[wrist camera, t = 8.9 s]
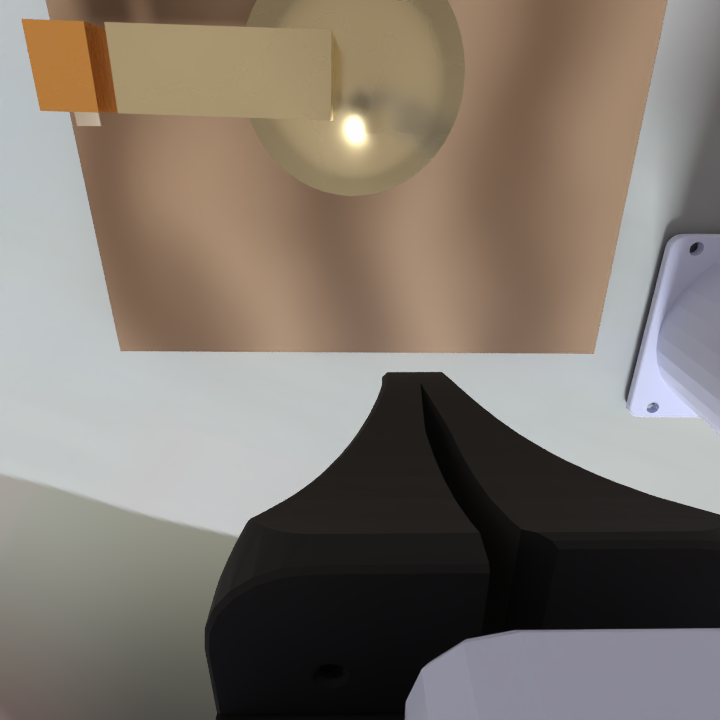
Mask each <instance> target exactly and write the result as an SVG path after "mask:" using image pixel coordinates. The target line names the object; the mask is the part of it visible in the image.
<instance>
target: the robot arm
mask: <svg viewBox="0 0 720 720" xmlns="http://www.w3.org/2000/svg"><path fill="white" fill-rule="evenodd" d="M696 242H697V243H698V247H697V249H696V250H695V251H694V252H693V253H690V247H691V245H693V244H694V243H696ZM654 402H655V404H654V405H653V406H652V407H651V408H647V406H648V405H649V404H651V403H654ZM626 408H627V409H628V411H629V412H630V413H631V414H632V415H633V416H636V417H700V418H701V419H702V420H704V421H705V422H706V423H707V424H708V425H709V426H710V427H711V428H712V429H713V430H714V431H716V432H717V433H718V434H719V435H720V234H678V235H675V236H674V237H672V238H671V239H670V240H669V241H668V242H667V245H666V247H665V251H664V255H663V259H662V263H661V267H660V271H659V275H658V279H657V283H656V287H655V291H654V295H653V299H652V303H651V307H650V311H649V315H648V319H647V323H646V327H645V331H644V335H643V339H642V343H641V347H640V351H639V355H638V359H637V363H636V367H635V371H634V375H633V379H632V383H631V387H630V391H629V395H628V400H627V404H626ZM205 652H206V657H207V663H208V668H209V673H210V678H211V684H212V689H213V694H214V699H215V705H216V710H217V716H216V720H720V515H719V514H715V513H712V512H708V511H705V510H701V509H698V508H694V507H691V506H687V505H684V504H680V503H676V502H673V501H669V500H666V499H662V498H659V497H656V496H653V495H649V494H647V493H644V492H641V491H638V490H635V489H633V488H630V487H627V486H624V485H621V484H619V483H616V482H614V481H611V480H609V479H606V478H604V477H601V476H599V475H596V474H594V473H592V472H589V471H587V470H585V469H583V468H581V467H579V466H576V465H574V464H572V463H570V462H568V461H566V460H564V459H562V458H560V457H558V456H556V455H554V454H552V453H550V452H548V451H547V450H545V449H543V448H542V447H540V446H538V445H536V444H535V443H533V442H531V441H529V440H528V439H526V438H525V437H523V436H521V435H520V434H518V433H517V432H515V431H514V430H512V429H511V428H510V427H508V426H507V425H505V424H504V423H503V422H501V421H500V420H498V419H497V418H496V417H494V416H493V415H492V414H490V413H489V412H488V411H487V410H485V409H484V408H483V407H482V406H480V405H479V404H478V403H477V402H476V401H474V400H473V399H472V398H471V397H470V396H468V395H467V394H466V393H465V392H464V391H463V390H462V389H461V388H459V387H458V386H457V385H456V384H455V383H454V382H453V381H452V380H450V379H449V378H448V377H447V376H446V375H445V374H443V373H442V372H387V373H386V374H385V375H384V376H383V377H382V387H381V390H380V393H379V395H378V398H377V400H376V402H375V404H374V406H373V408H372V410H371V413H370V414H369V416H368V418H367V419H366V421H365V423H364V424H363V426H362V427H361V429H360V430H359V432H358V434H357V435H356V436H355V438H354V439H353V440H352V442H351V443H350V444H349V446H348V447H347V448H346V449H345V450H344V451H343V453H342V454H341V455H340V456H339V457H338V458H337V459H336V460H335V461H334V462H333V463H332V464H331V465H330V466H329V467H328V468H327V469H326V470H325V471H324V472H323V473H322V474H321V475H320V476H319V477H317V478H316V479H315V480H314V481H313V482H311V483H310V484H309V485H307V486H306V487H305V488H303V489H302V490H300V491H299V492H297V493H296V494H295V495H293V496H291V497H290V498H288V499H287V500H285V501H283V502H281V503H279V504H278V505H276V506H274V507H272V508H270V509H268V510H267V511H265V512H263V513H261V514H259V515H257V516H255V517H253V518H251V519H250V520H249V521H248V522H247V524H246V525H245V527H244V529H243V531H242V533H241V534H240V536H239V538H238V540H237V542H236V544H235V546H234V548H233V550H232V552H231V554H230V556H229V558H228V561H227V563H226V565H225V567H224V570H223V572H222V574H221V577H220V580H219V582H218V585H217V588H216V591H215V595H214V598H213V602H212V605H211V609H210V612H209V616H208V619H207V623H206V627H205Z"/></svg>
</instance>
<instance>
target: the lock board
mask: <svg viewBox="0 0 720 720" xmlns="http://www.w3.org/2000/svg"><path fill="white" fill-rule="evenodd" d="M256 1H257V0H46V3H47V8H48V13H49V17H50V20H62V21H84V22H87V23H91V24H94V25H97V26H100V27H103V28H105V24H104V22H120V23H149V24H178V25H207V26H236V27H246V24H247V21H248V19H249V16H250V13H251V11H252V8H253V7H254V5H255V3H256ZM448 2H449V4H450V6H451V8H452V10H453V12H454V15H455V17H456V20H457V23H458V26H459V29H460V33H461V37H462V43H463V48H464V59H465V80H464V89H463V95H462V101H461V104H460V108H459V111H458V115H457V117H456V120H455V122H454V125H453V127H452V130H451V131H450V133H449V135H448V137H447V139H446V140H445V142H444V144H443V145H442V147H441V148H440V149H439V151H438V152H437V154H436V155H435V156H434V157H433V158H432V159H431V161H430V162H429V163H428V164H427V165H426V166H425V167H424V168H423V169H421V170H420V171H419V172H418V173H417V174H415V175H414V176H413V177H411V178H410V179H408V180H406V181H405V182H403V183H402V184H400V185H397V186H395V187H393V188H391V189H389V190H385V191H382V192H379V193H375V194H369V195H364V196H345V195H336V194H332V193H327V192H323V191H321V190H318V189H315V188H313V187H310V186H308V185H307V184H305V183H303V182H301V181H299V180H298V179H296V178H295V177H294V176H292V175H291V174H289V173H288V172H287V171H286V170H284V169H283V168H282V167H281V166H280V165H279V164H278V163H277V162H276V161H275V160H274V159H273V157H272V156H271V155H270V154H269V153H268V151H267V150H266V149H265V147H264V146H263V144H262V143H261V141H260V139H259V138H258V136H257V134H256V132H255V130H254V128H253V126H252V124H251V122H250V119H249V118H241V117H212V116H182V115H153V114H124V113H95V112H70V116H71V120H72V125H73V130H74V135H75V139H76V144H77V149H78V153H79V158H80V163H81V167H82V172H83V177H84V181H85V186H86V191H87V195H88V200H89V205H90V210H91V214H92V219H93V224H94V228H95V233H96V238H97V242H98V247H99V252H100V256H101V261H102V266H103V270H104V275H105V280H106V285H107V289H108V294H109V299H110V303H111V308H112V313H113V317H114V322H115V327H116V331H117V336H118V341H119V345H120V350H121V351H212V352H393V353H574V354H594V350H595V345H596V340H597V336H598V331H599V326H600V321H601V316H602V312H603V307H604V302H605V297H606V293H607V288H608V283H609V278H610V273H611V269H612V264H613V259H614V254H615V249H616V245H617V240H618V235H619V230H620V226H621V221H622V216H623V211H624V206H625V202H626V197H627V192H628V187H629V182H630V178H631V173H632V168H633V163H634V158H635V154H636V149H637V144H638V139H639V135H640V130H641V125H642V120H643V115H644V111H645V106H646V101H647V96H648V91H649V87H650V82H651V77H652V72H653V68H654V63H655V58H656V53H657V48H658V44H659V39H660V34H661V29H662V24H663V20H664V15H665V10H666V5H667V0H448Z"/></svg>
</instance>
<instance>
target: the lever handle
mask: <svg viewBox="0 0 720 720" xmlns="http://www.w3.org/2000/svg"><path fill="white" fill-rule="evenodd" d="M22 24H23V29H24V33H25V38H26V43H27V48H28V53H29V58H30V62H31V67H32V72H33V77H34V82H35V87H36V91H37V96H38V101H39V106H40V111H66V112H95V113H124V114H153V115H182V116H212V117H241V118H249V119H250V122H251V124H252V126H253V128H254V130H255V132H256V134H257V136H258V138H259V139H260V141H261V143H262V144H263V146H264V147H265V149H266V150H267V151H268V153H269V154H270V155H271V156H272V157H273V159H274V160H275V161H276V162H277V163H278V164H279V165H280V166H281V167H282V168H283V169H284V170H286V171H287V172H288V173H289V174H291V175H292V176H294V177H295V178H296V179H298V180H299V181H301V182H303V183H305V184H307V185H308V186H310V187H313V188H315V189H318V190H321V191H323V192H327V193H332V194H336V195H345V196H364V195H369V194H375V193H379V192H382V191H385V190H389V189H391V188H393V187H395V186H397V185H400V184H402V183H403V182H405V181H406V180H408V179H410V178H411V177H413V176H414V175H415V174H417V173H418V172H419V171H420V170H421V169H423V168H424V167H425V166H426V165H427V164H428V163H429V162H430V161H431V159H432V158H433V157H434V156H435V155H436V154H437V152H438V151H439V149H440V148H441V147H442V145H443V144H444V142H445V140H446V139H447V137H448V135H449V133H450V131H451V130H452V127H453V125H454V122H455V120H456V117H457V115H458V111H459V108H460V104H461V101H462V95H463V89H464V80H465V59H464V48H463V43H462V37H461V33H460V29H459V26H458V23H457V20H456V17H455V15H454V12H453V10H452V8H451V6H450V4H449V2H448V0H257V1H256V3H255V5H254V7H253V8H252V11H251V13H250V16H249V19H248V21H247V24H246V27H236V26H207V25H178V24H149V23H120V22H104V24H105V28H103V27H100V26H97V25H94V24H91V23H87V22H84V21H62V20H33V19H22Z"/></svg>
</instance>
